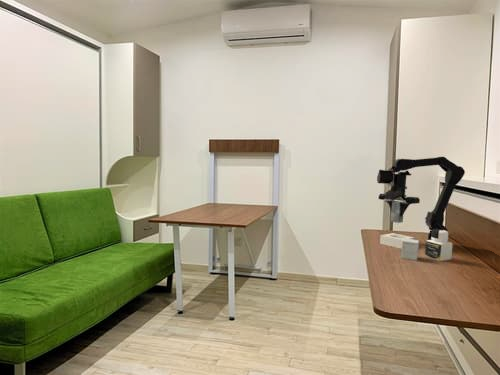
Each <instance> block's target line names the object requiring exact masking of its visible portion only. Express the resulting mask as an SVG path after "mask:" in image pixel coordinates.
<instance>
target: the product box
mask: <svg viewBox="0 0 500 375" xmlns="http://www.w3.org/2000/svg"><path fill="white" fill-rule="evenodd" d="M419 245H420V240H418V239H414V240H413V239H405V238H404V239H403V242H402V249H401V254H400V255H401V256H400V258H401V259H405V260H406V259H407V260H413V261H418V256H419V255H418V254H419Z"/></svg>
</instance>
